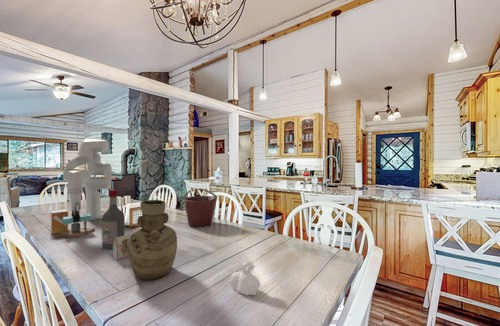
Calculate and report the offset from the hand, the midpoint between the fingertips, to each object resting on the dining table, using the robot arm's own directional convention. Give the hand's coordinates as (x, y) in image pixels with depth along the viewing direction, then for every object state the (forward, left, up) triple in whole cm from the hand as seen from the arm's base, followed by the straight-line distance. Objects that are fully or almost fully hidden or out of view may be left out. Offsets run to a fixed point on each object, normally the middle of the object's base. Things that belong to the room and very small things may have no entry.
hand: (75, 220), depth 143 cm
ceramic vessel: (+46, +67, -9) cm, 82 cm away
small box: (-3, -13, -9) cm, 16 cm away
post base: (0, 0, -8) cm, 8 cm away
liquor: (+18, +34, -9) cm, 39 cm away
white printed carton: (+31, +46, -9) cm, 56 cm away
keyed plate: (0, 0, -1) cm, 1 cm away
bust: (+57, +106, -9) cm, 121 cm away
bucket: (-25, +71, -9) cm, 76 cm away
